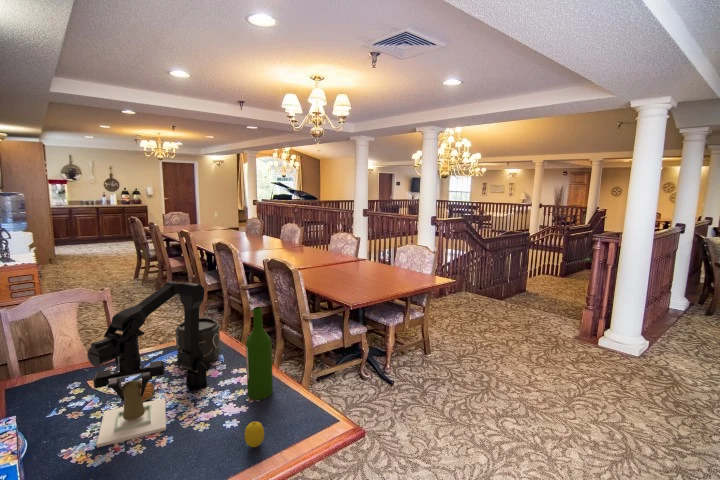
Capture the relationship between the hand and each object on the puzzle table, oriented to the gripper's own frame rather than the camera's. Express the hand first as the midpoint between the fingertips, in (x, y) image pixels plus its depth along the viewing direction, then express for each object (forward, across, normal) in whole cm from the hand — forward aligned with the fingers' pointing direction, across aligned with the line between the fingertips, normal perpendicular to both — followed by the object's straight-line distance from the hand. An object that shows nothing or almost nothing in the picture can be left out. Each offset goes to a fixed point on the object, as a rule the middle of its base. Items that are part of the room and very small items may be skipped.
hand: (132, 398), depth 123 cm
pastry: (+9, -2, -16) cm, 19 cm away
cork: (+6, 0, 0) cm, 6 cm away
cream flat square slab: (+8, 0, 0) cm, 8 cm away
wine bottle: (+8, -40, +1) cm, 41 cm away
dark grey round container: (+9, -23, -39) cm, 46 cm away
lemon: (+8, -32, +29) cm, 44 cm away
